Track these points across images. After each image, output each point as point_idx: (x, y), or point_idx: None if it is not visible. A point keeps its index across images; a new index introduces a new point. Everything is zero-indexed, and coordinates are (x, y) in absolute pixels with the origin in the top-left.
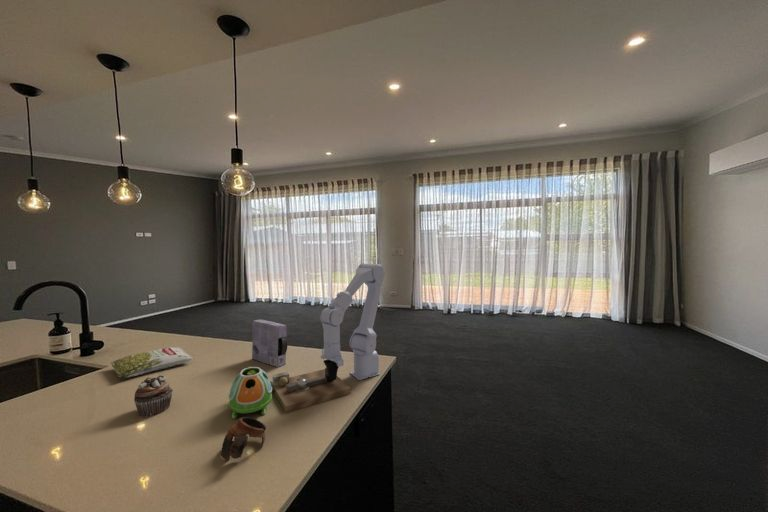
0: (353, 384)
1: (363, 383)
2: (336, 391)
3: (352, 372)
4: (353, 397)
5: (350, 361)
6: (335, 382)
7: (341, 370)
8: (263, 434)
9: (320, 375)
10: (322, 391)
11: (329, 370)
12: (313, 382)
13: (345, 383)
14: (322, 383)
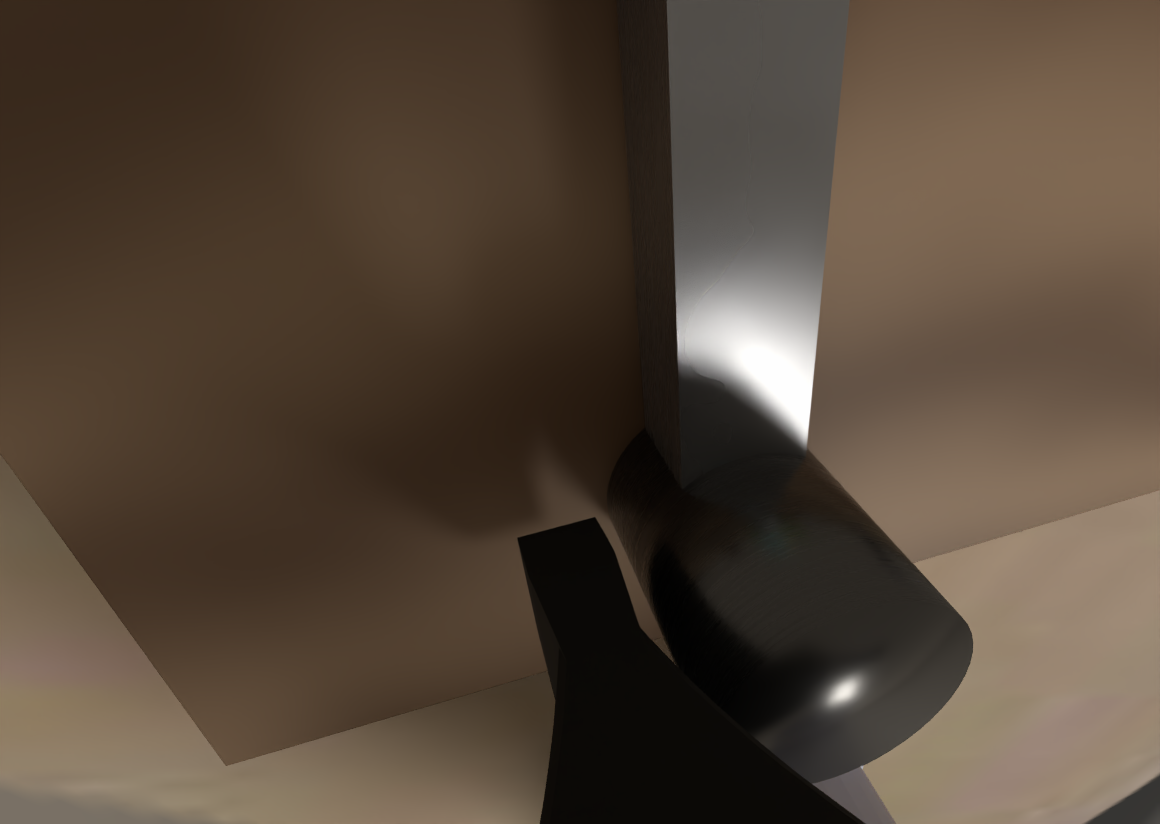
0: (534, 705)
1: (504, 794)
2: (84, 560)
3: None
4: (67, 702)
5: (1126, 684)
6: None
7: (1015, 595)
8: None
9: (1036, 333)
10: (162, 251)
11: (542, 817)
12: (652, 74)
13: (437, 700)
14: None
